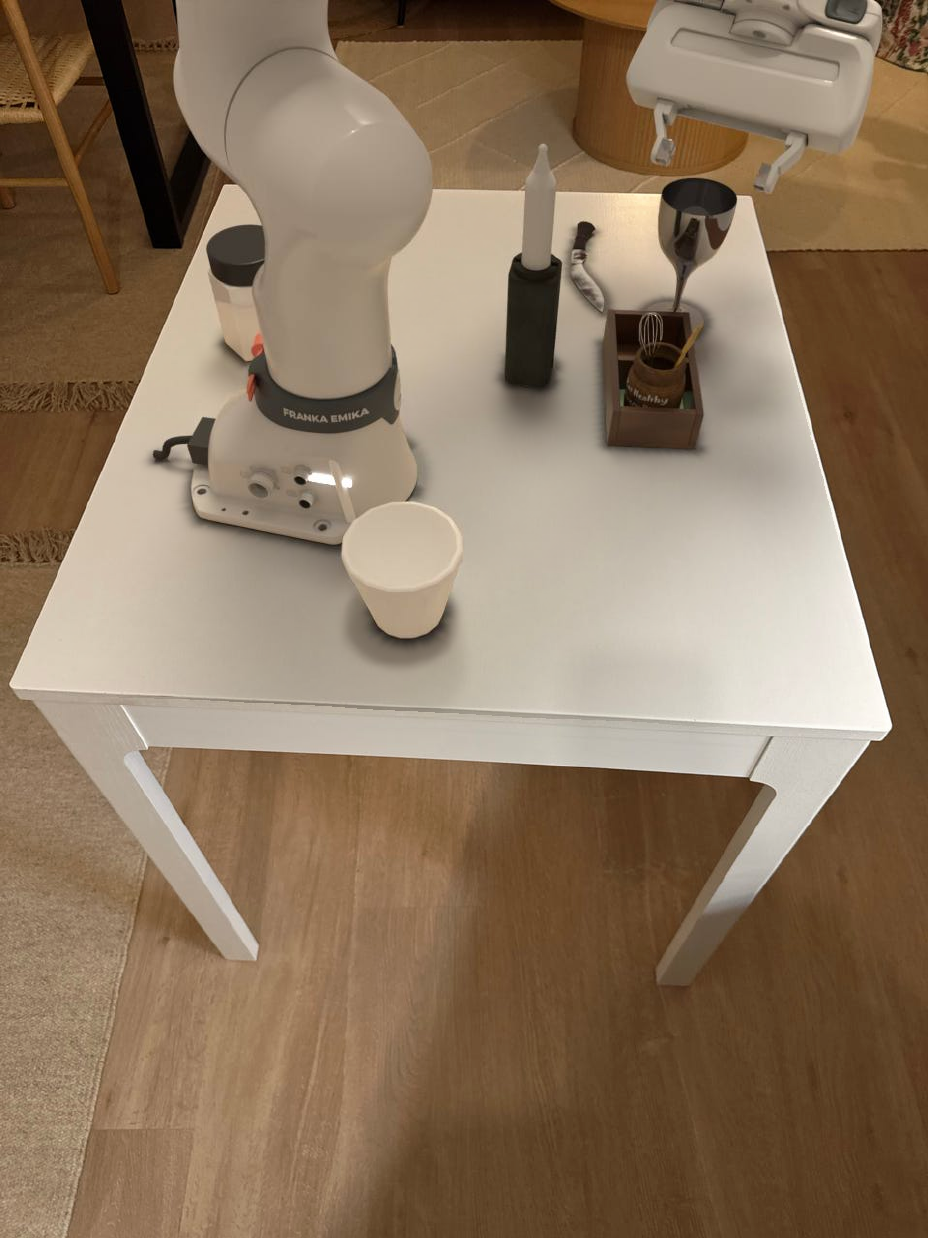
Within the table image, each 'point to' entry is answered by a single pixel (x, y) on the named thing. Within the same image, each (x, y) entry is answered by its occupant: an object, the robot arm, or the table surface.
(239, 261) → the jar
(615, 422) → the wooden divided box
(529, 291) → the candle
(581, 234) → the knife
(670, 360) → the utensil holder
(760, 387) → the table surface
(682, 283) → the wine glass
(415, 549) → the cup
